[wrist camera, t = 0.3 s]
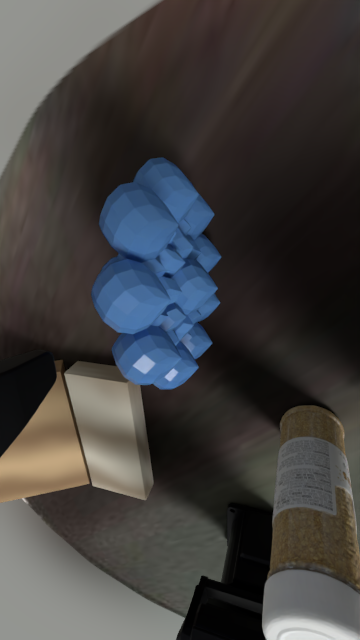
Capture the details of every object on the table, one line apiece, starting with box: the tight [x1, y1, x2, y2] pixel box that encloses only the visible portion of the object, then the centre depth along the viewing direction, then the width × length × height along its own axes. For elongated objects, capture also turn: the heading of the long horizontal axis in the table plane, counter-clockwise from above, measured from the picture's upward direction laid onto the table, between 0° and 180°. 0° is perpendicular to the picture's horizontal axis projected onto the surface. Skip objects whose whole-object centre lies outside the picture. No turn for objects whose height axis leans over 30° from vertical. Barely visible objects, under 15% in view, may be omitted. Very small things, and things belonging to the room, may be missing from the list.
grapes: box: [91, 157, 221, 389], centre depth 17 cm, size 12×7×12 cm, turn 4°
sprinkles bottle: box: [262, 405, 360, 640], centre depth 19 cm, size 5×5×14 cm
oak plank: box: [0, 360, 90, 503], centre depth 32 cm, size 14×9×2 cm, turn 4°
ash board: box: [64, 361, 154, 500], centre depth 31 cm, size 14×6×2 cm, turn 4°
